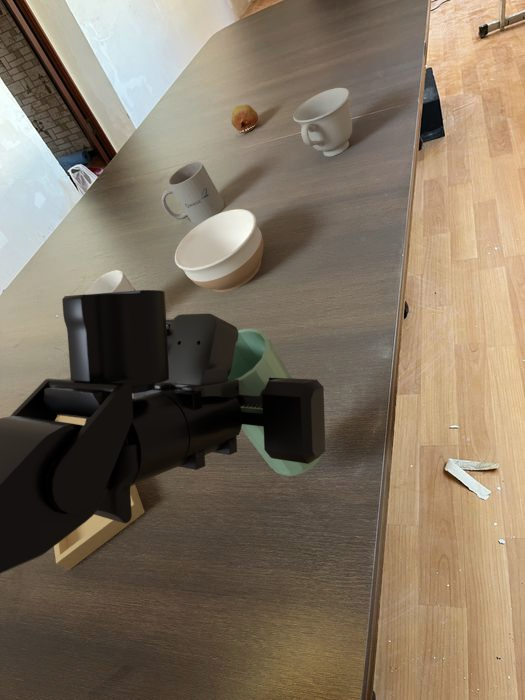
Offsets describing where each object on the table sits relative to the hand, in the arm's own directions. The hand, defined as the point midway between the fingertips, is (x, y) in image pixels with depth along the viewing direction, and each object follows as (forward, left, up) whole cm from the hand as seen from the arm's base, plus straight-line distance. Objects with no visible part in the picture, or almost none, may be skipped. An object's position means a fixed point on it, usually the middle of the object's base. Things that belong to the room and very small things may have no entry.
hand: (272, 396), depth 49 cm
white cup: (+26, +43, -12) cm, 51 cm away
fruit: (+98, +43, -12) cm, 107 cm away
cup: (-2, 0, -8) cm, 8 cm away
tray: (-3, +36, -12) cm, 38 cm away
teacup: (+72, +13, -12) cm, 74 cm away
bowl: (+37, +25, -12) cm, 46 cm away
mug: (+60, +43, -12) cm, 74 cm away
